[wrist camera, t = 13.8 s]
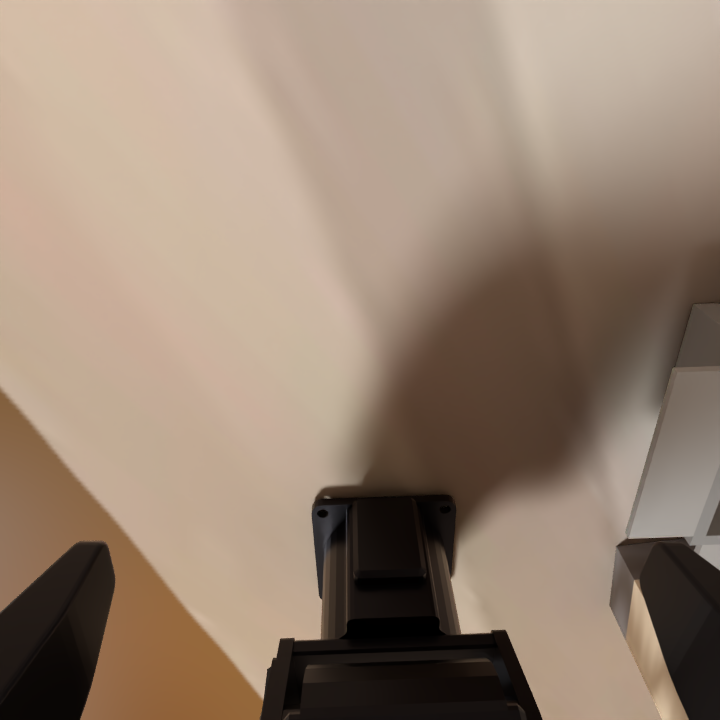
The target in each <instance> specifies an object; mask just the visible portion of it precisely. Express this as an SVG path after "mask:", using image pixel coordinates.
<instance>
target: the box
mask: <svg viewBox="0 0 720 720" xmlns="http://www.w3.org/2000/svg"><path fill="white" fill-rule="evenodd" d="M657 542H680V543H683V544H685V545H686V546H688V547H689V548H690V549H692V550H693V551H694V549H695V547H696V545H691V546H690V545H689V544H688V542H687V541H686V539H685V538H682V539H674V540H665V541H657ZM657 542H648V543H639V544H631V545H622V546H616V554H615V562H614V571H613V580H612V588H611V597H610V607H611V610H612V612H613V614H614V616H615V618H616V620H617V623H618V625H619V627H620V629H621V631H622V633H623V636H624V638H625V640H626V642H627V644H628V646H629V649H630V651H631V653H632V655H633V657H634V659H635V662H636V664H637V666H638V668H639V670H640V672H641V675H642V677H643V679H644V681H645V683H646V686H647V688H648V690H649V692H650V694H651V696H652V699H653V701H654V703H655V705H656V707H657V709H658V712H659V714H660V716H661V718H662V720H689V719H688V717H687V715H686V712H685V710H684V708H683V706H682V703H681V701H680V699H679V696H678V694H677V692H676V689H675V687H674V685H673V682H672V680H671V677H670V675H669V672H668V669H667V666H666V664H665V661H664V658H663V655H662V652H661V648H660V645H659V642H658V639H657V636H656V633H655V630H654V627H653V624H652V621H651V618H650V615H649V612H648V609H647V606H646V603H645V600H644V597H643V594H642V591H641V587H640V579H639V578H640V573H641V570H642V568H643V566H644V563H645V561H646V559H647V557H648V555H649V553H650V551H651V548H652V547H653V545H654V544H655V543H657Z"/></svg>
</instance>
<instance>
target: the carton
mask: <svg viewBox="0 0 720 720" xmlns="http://www.w3.org/2000/svg"><path fill="white" fill-rule="evenodd" d="M625 533H626V535H627V537H628V539H634V538H662V537H684V538H685V539H686V541H687V542H688V544H689V545H690V546H691V545H696V547H695V549H694V552H696V553H697V554H699V555H700V556H701V557H703V558H704V559H705V560H707V561H708V562H709V563H711V564H712V565H713V566H715V567H716V568H717V569H719V570H720V303H708V304H693V307H692V310H691V314H690V317H689V321H688V324H687V328H686V331H685V335H684V338H683V341H682V345H681V348H680V352H679V355H678V359H677V362H676V366H675V367H674V368H672V372H671V375H670V379H669V382H668V386H667V389H666V393H665V396H664V400H663V403H662V407H661V410H660V414H659V417H658V421H657V424H656V428H655V431H654V434H653V438H652V441H651V445H650V448H649V452H648V455H647V459H646V462H645V466H644V469H643V473H642V476H641V480H640V483H639V487H638V490H637V494H636V497H635V501H634V504H633V508H632V511H631V515H630V518H629V522H628V525H627V529H626V532H625Z"/></svg>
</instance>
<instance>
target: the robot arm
mask: <svg viewBox="0 0 720 720" xmlns="http://www.w3.org/2000/svg"><path fill="white" fill-rule="evenodd" d="M444 505H448V506H447V507H442V506H444ZM322 509H323V510H326V511H320V510H322ZM455 519H456V505H455V501H454V499H453V498H452V497H451V496H449V495H425V496H397V497H368V498H339V499H320V500H317V501H315V502H314V503H313V506H312V523H313V534H314V545H315V556H316V567H317V577H318V588H319V596H320V598H321V599H322V620H321V640H297V641H295V638H284V639H280V643H279V648H278V653H277V658H273V660H272V665H271V667H270V668H269V669H267V677H266V686H265V694H264V701H263V707H262V713H261V716H260V720H542V717H541V714H540V711H539V709H538V707H537V704H536V702H535V699H534V697H533V694H532V692H531V690H530V687H529V685H528V682H527V680H526V678H525V675H524V673H523V670H522V668H521V666H520V663H519V661H518V658H517V656H516V654H515V651H514V649H513V646H512V644H511V642H510V639H509V637H508V634H507V632H506V630H491V633H477V634H461V630H460V625H459V620H458V615H457V610H456V604H455V599H454V594H453V589H452V584H451V569H452V556H453V544H454V531H455ZM639 579H640V587H641V591H642V594H643V597H644V600H645V603H646V606H647V609H648V612H649V615H650V618H651V621H652V624H653V627H654V630H655V633H656V636H657V639H658V642H659V645H660V648H661V652H662V655H663V658H664V661H665V664H666V666H667V669H668V672H669V675H670V677H671V680H672V682H673V685H674V687H675V689H676V692H677V694H678V696H679V699H680V701H681V703H682V706H683V708H684V710H685V712H686V715H687V717H688V719H689V720H720V570H719V569H717V568H716V567H715V566H713V565H712V564H711V563H709V562H708V561H707V560H705V559H704V558H703V557H701V556H700V555H699V554H697V553H696V552H694V551H693V550H692V549H690V548H689V547H688V546H686V545H685V544H683V543H680V542H657V543H655V544H654V545H653V547H652V548H651V551H650V553H649V555H648V557H647V559H646V561H645V563H644V566H643V568H642V570H641V573H640V578H639ZM114 588H115V574H114V569H113V564H112V560H111V556H110V552H109V548H108V545H107V544H106V542H104V541H80V542H78V543H76V544H74V545H73V546H72V547H71V548H70V549H69V550H68V551H67V552H66V553H65V554H63V555H62V556H61V557H60V558H59V559H58V560H57V561H56V562H55V563H54V564H53V565H51V566H50V567H49V568H48V569H47V570H46V571H45V572H44V573H43V574H42V575H41V576H40V577H38V578H37V579H36V580H35V581H34V582H33V583H32V584H31V585H30V586H29V587H27V588H26V589H25V590H24V591H23V592H22V593H21V594H20V595H19V596H18V597H17V598H16V599H14V600H13V601H12V602H11V603H10V604H9V605H8V606H7V607H6V608H5V609H4V610H2V611H1V612H0V720H80V718H81V716H82V713H83V710H84V707H85V704H86V701H87V698H88V695H89V692H90V688H91V685H92V681H93V677H94V673H95V669H96V665H97V661H98V656H99V652H100V648H101V643H102V640H103V635H104V631H105V627H106V622H107V619H108V614H109V610H110V606H111V601H112V597H113V593H114Z"/></svg>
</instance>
